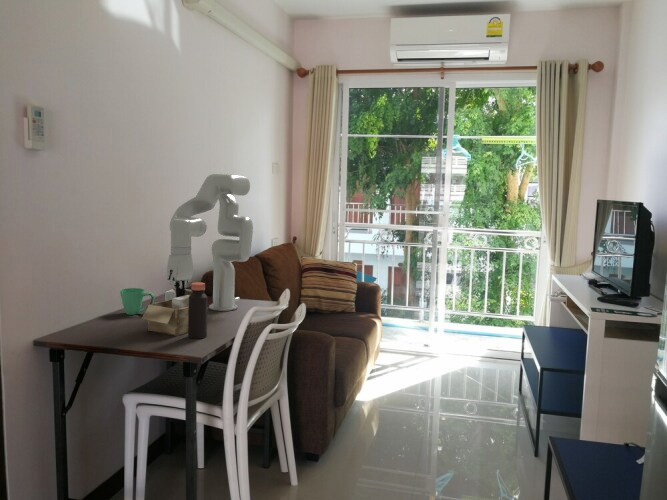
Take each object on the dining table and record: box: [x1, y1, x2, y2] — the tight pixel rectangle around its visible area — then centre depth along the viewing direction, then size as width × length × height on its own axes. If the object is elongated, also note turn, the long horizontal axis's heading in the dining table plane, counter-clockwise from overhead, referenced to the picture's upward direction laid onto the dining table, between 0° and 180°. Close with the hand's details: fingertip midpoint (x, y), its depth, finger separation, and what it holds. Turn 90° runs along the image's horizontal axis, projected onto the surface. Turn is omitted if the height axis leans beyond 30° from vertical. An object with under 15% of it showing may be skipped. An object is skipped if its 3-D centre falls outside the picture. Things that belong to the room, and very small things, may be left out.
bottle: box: [187, 281, 208, 340], centre depth 205 cm, size 7×7×20 cm
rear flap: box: [171, 287, 192, 296], centre depth 219 cm, size 6×12×1 cm
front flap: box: [141, 303, 175, 324], centre depth 205 cm, size 6×12×1 cm
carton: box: [147, 294, 191, 337], centre depth 214 cm, size 16×15×13 cm
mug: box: [119, 287, 156, 316], centre depth 236 cm, size 15×10×10 cm
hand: (180, 297), depth 215 cm, fingers closed
